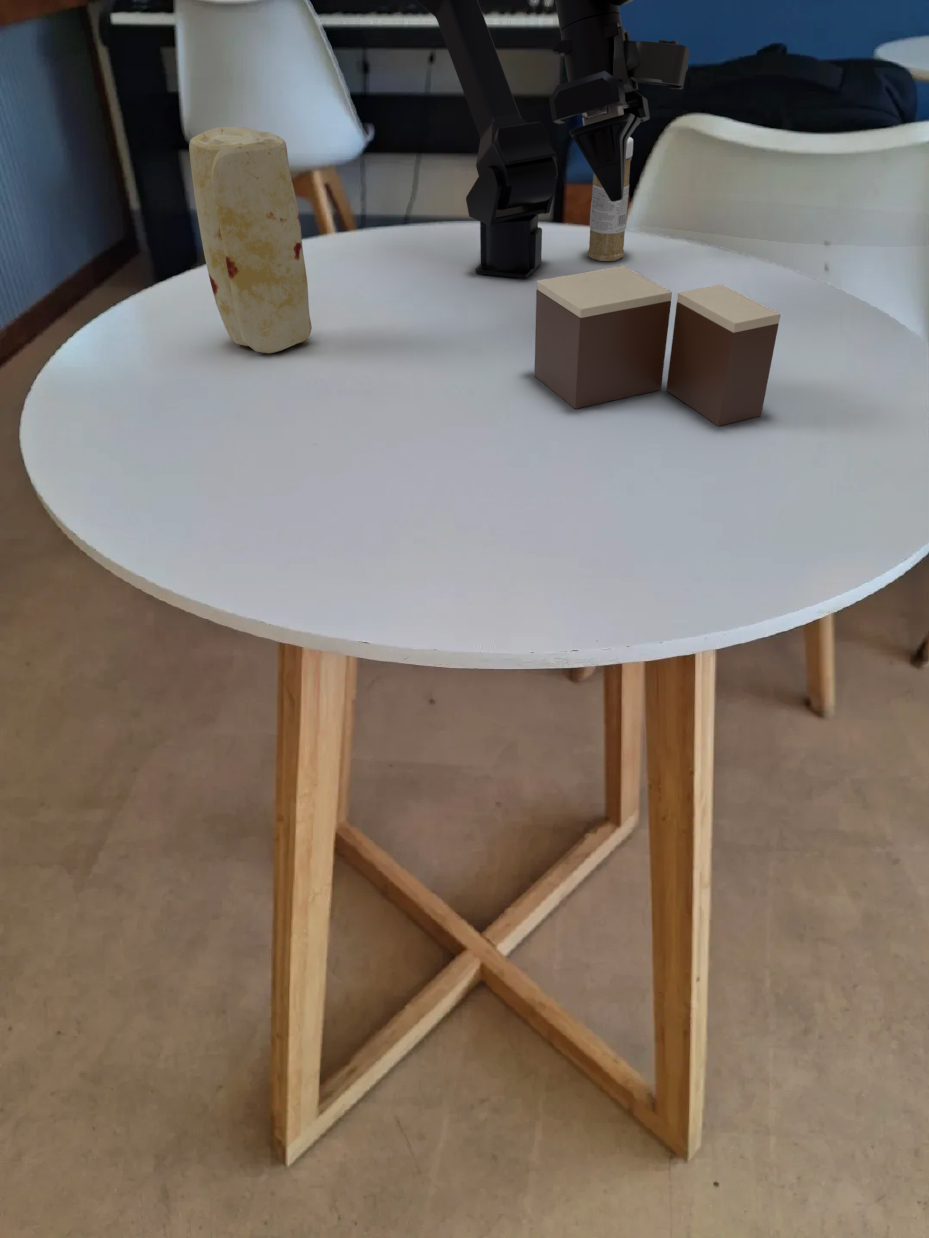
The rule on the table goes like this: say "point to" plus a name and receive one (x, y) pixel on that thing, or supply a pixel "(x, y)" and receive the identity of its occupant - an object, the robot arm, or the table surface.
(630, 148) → the sprinkles bottle
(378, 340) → the table surface
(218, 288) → the food model
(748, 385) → the cake slice
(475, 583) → the table surface
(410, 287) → the table surface
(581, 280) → the box
